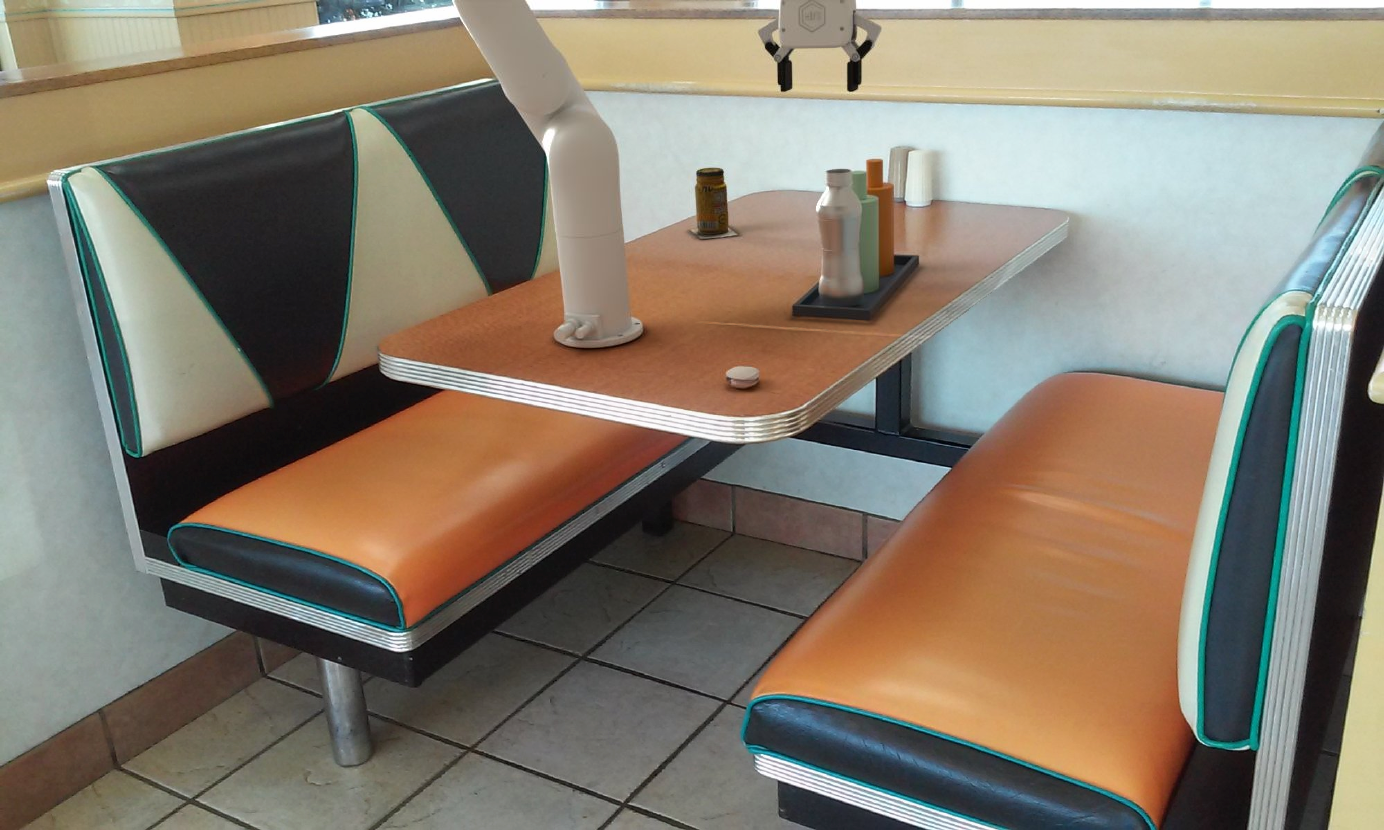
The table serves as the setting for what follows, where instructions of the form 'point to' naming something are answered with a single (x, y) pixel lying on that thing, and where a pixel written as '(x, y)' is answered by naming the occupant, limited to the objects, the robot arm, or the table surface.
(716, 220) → the condiment
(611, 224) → the robot arm
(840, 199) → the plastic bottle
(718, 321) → the table surface
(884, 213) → the amber bottle
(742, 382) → the macaroon
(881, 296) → the tray
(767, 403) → the table surface
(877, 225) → the sage bottle
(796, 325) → the table surface
